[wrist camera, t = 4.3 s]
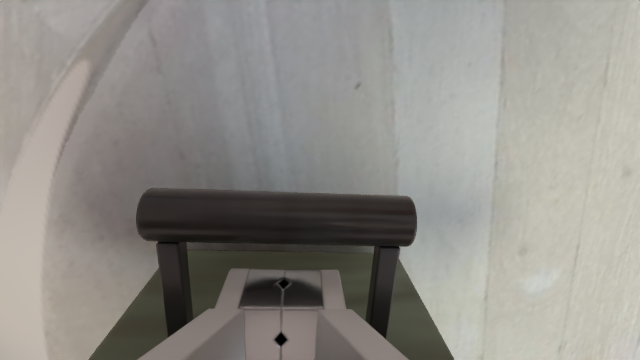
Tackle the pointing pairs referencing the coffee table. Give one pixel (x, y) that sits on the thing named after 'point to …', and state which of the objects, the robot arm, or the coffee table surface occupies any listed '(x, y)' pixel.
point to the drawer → (274, 261)
